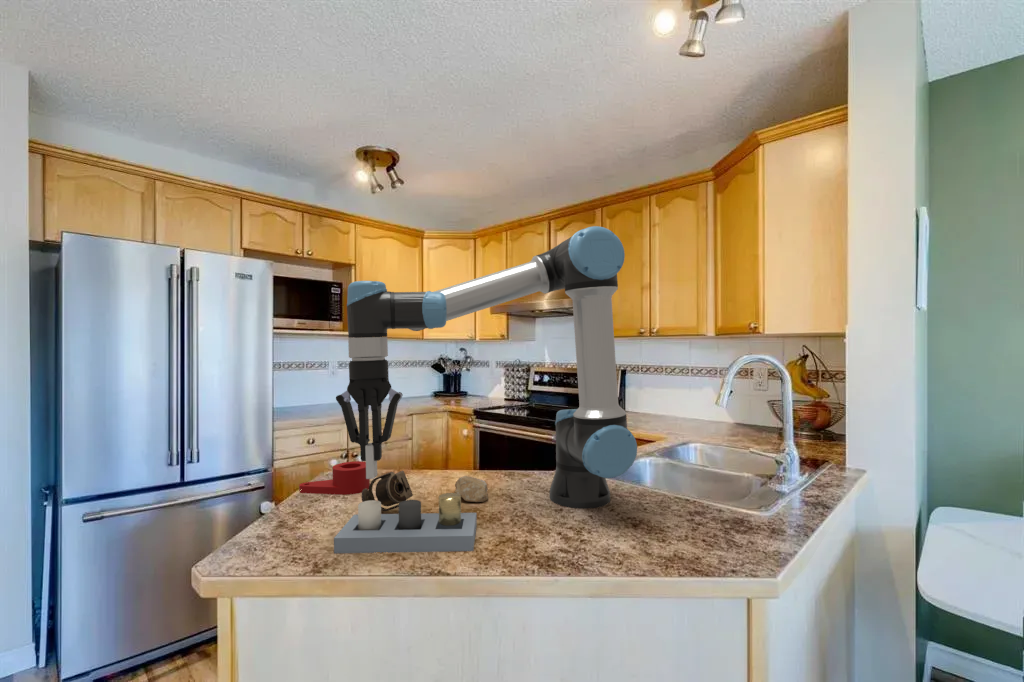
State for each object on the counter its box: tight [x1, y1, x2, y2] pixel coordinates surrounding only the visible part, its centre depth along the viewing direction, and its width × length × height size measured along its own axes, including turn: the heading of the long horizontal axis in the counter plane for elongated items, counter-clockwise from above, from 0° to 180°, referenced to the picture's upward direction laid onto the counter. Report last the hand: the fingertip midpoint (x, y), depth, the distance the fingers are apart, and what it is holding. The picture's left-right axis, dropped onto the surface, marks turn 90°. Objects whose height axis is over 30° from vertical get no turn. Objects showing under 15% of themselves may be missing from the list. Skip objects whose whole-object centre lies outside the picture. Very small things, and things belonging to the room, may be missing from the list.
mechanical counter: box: [361, 470, 414, 512], centre depth 108 cm, size 7×13×10 cm, turn 78°
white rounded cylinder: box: [357, 499, 382, 531], centre depth 94 cm, size 4×4×5 cm
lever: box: [298, 460, 371, 496], centre depth 125 cm, size 18×9×7 cm, turn 97°
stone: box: [454, 475, 489, 503], centre depth 119 cm, size 8×10×4 cm
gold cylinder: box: [438, 492, 462, 526], centre depth 94 cm, size 4×4×5 cm
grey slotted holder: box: [333, 512, 478, 554], centre depth 94 cm, size 26×12×3 cm, turn 91°
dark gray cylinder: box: [398, 499, 422, 530], centre depth 94 cm, size 4×4×5 cm
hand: (371, 476), depth 94 cm, fingers closed
